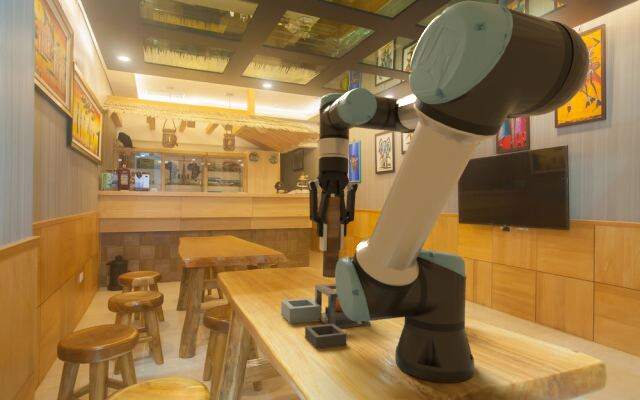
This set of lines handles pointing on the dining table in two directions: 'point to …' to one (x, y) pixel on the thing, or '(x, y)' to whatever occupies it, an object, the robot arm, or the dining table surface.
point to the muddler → (332, 237)
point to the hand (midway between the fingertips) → (331, 249)
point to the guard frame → (333, 308)
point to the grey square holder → (300, 310)
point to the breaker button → (338, 306)
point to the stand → (325, 336)
